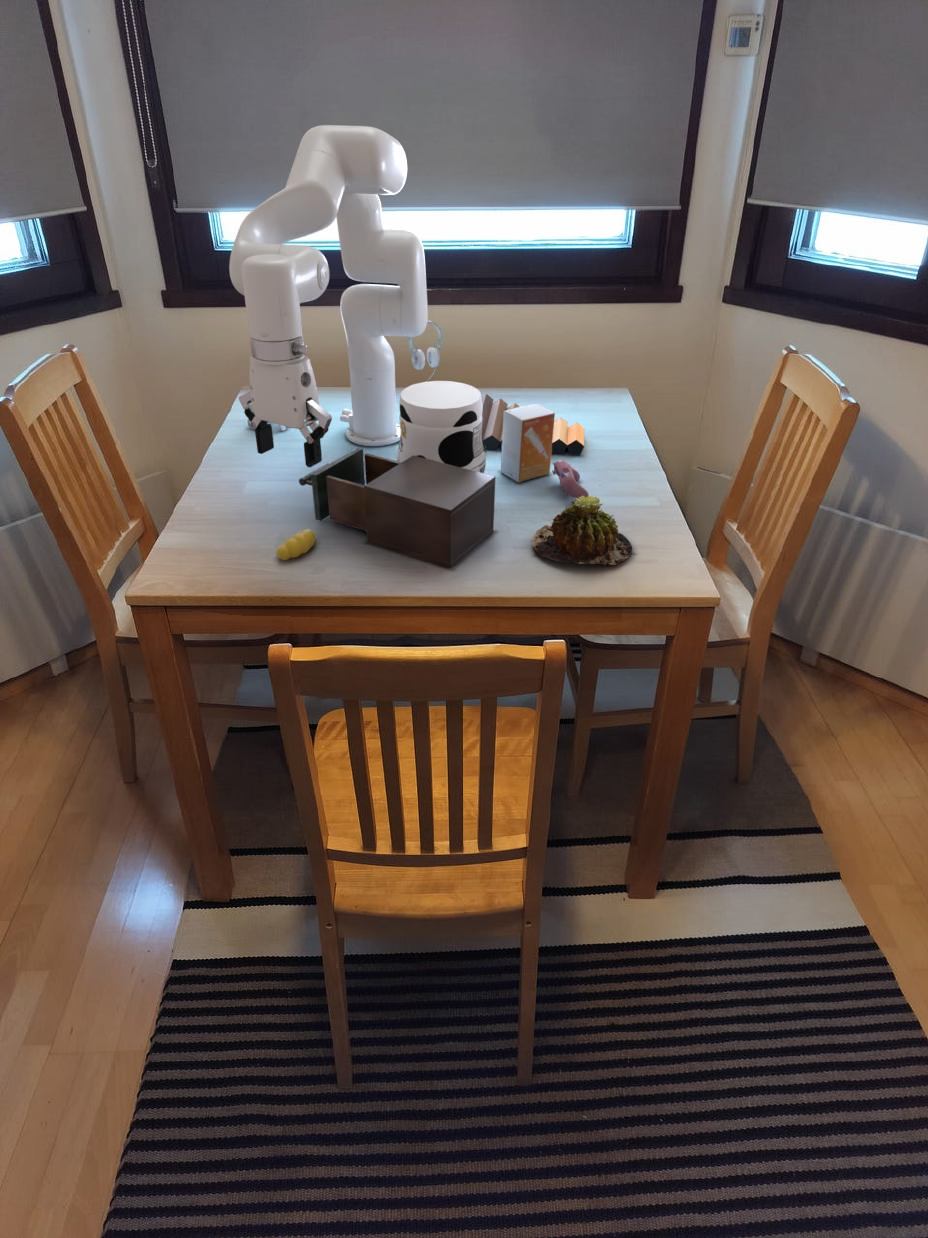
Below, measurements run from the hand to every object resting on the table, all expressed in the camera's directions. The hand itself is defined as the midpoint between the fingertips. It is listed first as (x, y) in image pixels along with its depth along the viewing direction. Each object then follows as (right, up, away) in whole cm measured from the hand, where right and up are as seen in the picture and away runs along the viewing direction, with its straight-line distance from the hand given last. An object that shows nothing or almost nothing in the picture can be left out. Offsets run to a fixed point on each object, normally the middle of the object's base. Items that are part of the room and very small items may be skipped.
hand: (289, 457), depth 131 cm
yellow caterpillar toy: (0, -14, +10) cm, 17 cm away
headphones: (+19, +25, +68) cm, 74 cm away
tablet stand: (-15, +18, +57) cm, 62 cm away
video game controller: (+48, -1, +31) cm, 57 cm away
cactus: (+48, -13, +13) cm, 51 cm away
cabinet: (+22, -11, +15) cm, 29 cm away
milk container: (+23, +1, +33) cm, 40 cm away
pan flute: (+42, +17, +56) cm, 72 cm away
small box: (+40, +4, +37) cm, 55 cm away
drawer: (+9, -6, +21) cm, 23 cm away
